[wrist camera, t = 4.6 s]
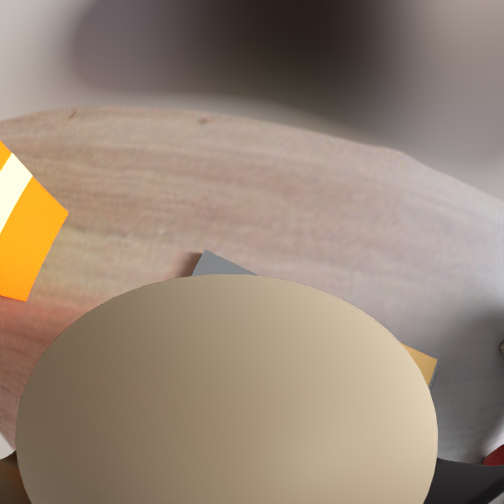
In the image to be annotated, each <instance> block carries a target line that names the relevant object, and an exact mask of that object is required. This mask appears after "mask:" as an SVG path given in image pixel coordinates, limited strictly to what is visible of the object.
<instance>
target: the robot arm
mask: <svg viewBox="0 0 504 504" xmlns="http://www.w3.org/2000/svg"><path fill="white" fill-rule="evenodd" d="M0 504H32V503H31V501H30V499H29V497H28V495H27V492H26V490H25V487H24V484H23V481H22V477H21V474H20V470H19V467H18V460H17V452H16V450H15V451H14V452H13V453H12V454H10V455H9V456H7V457H5V458H3V459H1V460H0ZM423 504H504V465H499V466H487V465H477V464H469V463H462V462H455V461H448V460H443V459H440V458H437V459H436V465H435V471H434V475H433V478H432V482H431V485H430V488H429V491H428V494H427V496H426V498H425V500H424V502H423Z"/></svg>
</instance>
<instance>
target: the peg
mask: <svg viewBox="0 0 504 504" xmlns="http://www.w3.org/2000/svg"><path fill="white" fill-rule="evenodd" d="M15 443H16V452H17V460H18V467H19V470H20V474H21V477H22V481H23V484H24V487H25V490H26V492H27V495H28V497H29V499H30V501H31V503H32V504H423V502H424V500H425V498H426V496H427V494H428V491H429V488H430V485H431V482H432V478H433V475H434V471H435V465H436V459H437V452H438V428H437V419H436V412H435V408H434V404H433V401H432V397H431V394H430V391H429V388H428V386H427V384H426V382H425V379H424V377H423V375H422V373H421V371H420V369H419V368H418V366H417V365H416V363H415V362H414V360H413V359H412V357H411V356H410V354H409V353H408V351H407V350H406V349H405V348H404V347H403V345H402V344H401V343H400V342H399V341H398V340H397V339H396V338H395V337H394V336H393V335H392V334H391V333H390V332H389V331H388V330H387V329H386V328H385V327H383V326H382V325H381V324H379V323H378V322H377V321H376V320H374V319H373V318H372V317H371V316H369V315H368V314H367V313H365V312H363V311H361V310H360V309H358V308H356V307H354V306H353V305H351V304H349V303H348V302H346V301H344V300H342V299H340V298H338V297H335V296H333V295H330V294H328V293H325V292H323V291H320V290H318V289H316V288H313V287H309V286H305V285H302V284H298V283H294V282H290V281H287V280H283V279H277V278H269V277H262V276H255V275H247V274H208V275H199V276H190V277H181V278H174V279H170V280H166V281H162V282H158V283H154V284H150V285H146V286H142V287H140V288H137V289H135V290H132V291H129V292H127V293H124V294H122V295H119V296H117V297H114V298H112V299H110V300H108V301H107V302H105V303H103V304H101V305H100V306H98V307H96V308H94V309H93V310H91V311H89V312H87V313H86V314H84V315H83V316H82V317H80V318H79V319H78V320H77V321H75V322H74V323H73V324H72V325H70V326H69V327H68V328H67V329H65V330H64V331H63V332H62V333H61V334H60V335H59V336H58V337H57V338H56V339H55V341H54V342H53V343H52V344H51V345H50V346H49V347H48V348H47V350H46V351H45V352H44V353H43V355H42V356H41V358H40V359H39V361H38V363H37V364H36V366H35V367H34V369H33V371H32V372H31V374H30V376H29V379H28V381H27V383H26V386H25V388H24V391H23V394H22V396H21V400H20V404H19V409H18V414H17V419H16V442H15Z"/></svg>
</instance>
